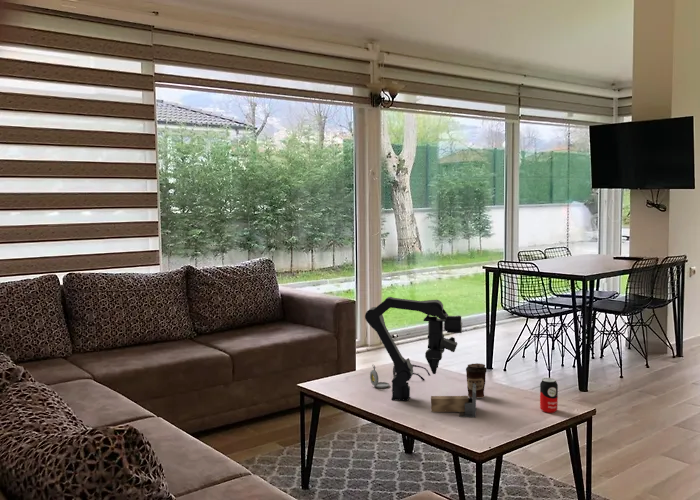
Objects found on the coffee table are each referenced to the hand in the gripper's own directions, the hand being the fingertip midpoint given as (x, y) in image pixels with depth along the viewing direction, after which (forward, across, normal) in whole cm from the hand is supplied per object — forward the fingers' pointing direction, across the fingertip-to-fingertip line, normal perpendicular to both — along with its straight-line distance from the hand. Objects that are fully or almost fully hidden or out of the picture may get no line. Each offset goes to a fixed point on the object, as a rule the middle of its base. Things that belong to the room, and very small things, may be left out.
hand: (435, 370), depth 270 cm
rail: (+12, -12, -7) cm, 18 cm away
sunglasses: (+13, +34, +14) cm, 39 cm away
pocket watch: (+12, +15, +25) cm, 32 cm away
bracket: (+12, -12, -13) cm, 22 cm away
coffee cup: (+12, +8, -16) cm, 21 cm away
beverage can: (+12, -6, -43) cm, 45 cm away
